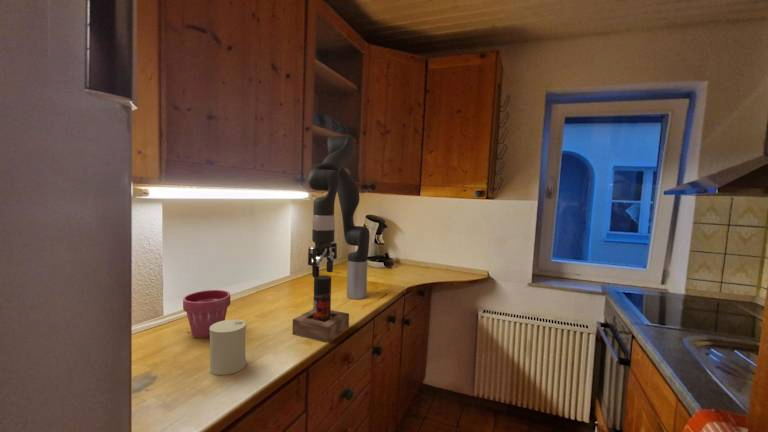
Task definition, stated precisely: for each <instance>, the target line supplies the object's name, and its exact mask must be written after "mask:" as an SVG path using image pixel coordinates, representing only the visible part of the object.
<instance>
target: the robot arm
mask: <svg viewBox="0 0 768 432" xmlns="http://www.w3.org/2000/svg"><path fill="white" fill-rule="evenodd" d="M326 144H327V150H328V155H326V157H325V158H324V160H323V161H322V163H320V164H319V165H317V166H316V167H314V168H313V169H311V171H310V172H309V174H308V177H307V182H308V183H307V184H308V185H309V187H310V188H311V189H312V190H314V191H327V193H326V195H324V196H321V197H316V198H314V199H313V205H312V206H313V211H312V213H313V215H312V225H311V226H312V227H311V229H312V232H311V233H312V235H311V236H312V237H311V238H312V239H311V240H312V242H313V243H314V247H313V246H312V247H311V246H309V247H308V253H307V265H308V266H311V267H312V269H311V270H312V271H311V272H312V273H311V274H312V277H313V278H314V277H315V278H318V277H319V275H320V264H321V262H322V261H324V259H326V272H327V273H333V272H334V262H335V260H337V258H338V253H337V252H338V244H337V242H335V232H336V231H335V228H336V227H335V226H336V225H335V224H336V223H335V222H336V220H335V202H336V198H337V197H336V196H338V202H339V206H340V210H341V218H342V228H343V236H344V241H345V243H346V244H347V245H349V246H354V247H356V246H357V248H356V249H357V250H356V251H354V252H350V253H348V255H347V271H346V274H347V275H346V277H347V278H346V298H348V299H352V300H361V299H365V298H366V297H367V293H368V292H367V291H368V290H367V289H368V288H367V287H368V257H369V250H370V230H369V228H368V227H367V226H360V225H355V222H354V215H355V213H356V210H357V208H358V206H359V203H360V199H361V198H360V192H359V186H358V184H357V182H356V181H355V180H354V178H353V177H352V176H351V174H349V172H347V170H346V169H345V168H344V165H345V164H346V163H347V162H349V160H350V159H351V158H353V156H354V155H355V154H356V147H357V146H356V142H355V138H354V137H353V135H351V134H340V135H331V136H329V137H328V138H327V143H326Z"/></svg>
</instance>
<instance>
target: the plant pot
mask: <svg viewBox="0 0 768 432" xmlns="http://www.w3.org/2000/svg"><path fill="white" fill-rule="evenodd" d="M230 305H231V293H230V292H229V291H227V290H223V289H207V290H202V291H195V292H192V293H189V294H187V295H186V296H184V297H183V300H182V310H183V311H184V312H186V316H187V319H188V323H189V327H190V331H191V334H192V337H194V338H199V339H204V338H210V329H209V328H210V326H211V325H212V324H214V323H217V322H220V321H224V320H226V316H227V312H228V307H230Z"/></svg>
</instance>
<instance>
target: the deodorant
mask: <svg viewBox="0 0 768 432" xmlns="http://www.w3.org/2000/svg"><path fill="white" fill-rule="evenodd" d="M331 298H332V276H330V275H325V274H324V275H323V274H322V275H321V274H319V277H318V278H315V277H313V306H312V307H313V308H312V309H313V320H317V321H322V322H326V321H328V320H330V312H331V310H332V309H331V308H332V307H331V306H332V305H331V303H332V299H331Z"/></svg>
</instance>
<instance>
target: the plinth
mask: <svg viewBox="0 0 768 432" xmlns="http://www.w3.org/2000/svg"><path fill="white" fill-rule="evenodd" d="M349 324H350V313H348V312H345V311H344V312H343V311H338V310H333V309H331V312H330V320H328V321H326V322H322V321H317V320H313V308H312V309H310V310H309V311H306V312H305V313H303V314H301V315H299V316H297V317H295V318H292V335H295V336H298V337H303V338H306V339H310V338H311V339H310V340H314V339H315V341H320V342H323V343H329V342H330V341H332V340H333V339H335V338H336V337H338V336H339V335H340V334H343V332H344V331H346V330H348V329H349V327H350V325H349Z"/></svg>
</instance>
